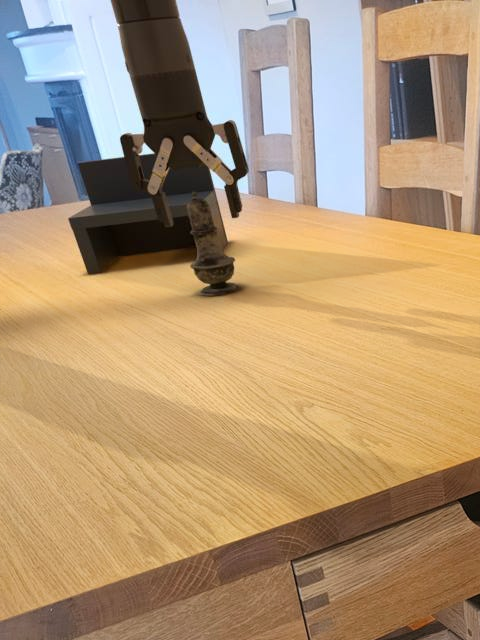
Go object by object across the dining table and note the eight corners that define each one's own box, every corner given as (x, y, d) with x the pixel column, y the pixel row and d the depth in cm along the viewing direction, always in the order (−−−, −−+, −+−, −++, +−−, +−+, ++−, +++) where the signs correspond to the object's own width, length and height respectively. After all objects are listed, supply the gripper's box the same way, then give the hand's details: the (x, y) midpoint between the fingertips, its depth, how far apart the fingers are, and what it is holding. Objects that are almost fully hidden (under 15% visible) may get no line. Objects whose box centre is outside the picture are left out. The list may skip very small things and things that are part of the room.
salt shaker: (230, 283, 115) (205, 185, 107) (249, 288, 111) (225, 187, 104) (190, 293, 112) (162, 193, 105) (209, 298, 108) (181, 195, 101)
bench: (87, 274, 129) (51, 172, 121) (110, 256, 140) (79, 162, 132) (215, 259, 130) (189, 156, 121) (228, 242, 141) (204, 147, 133)
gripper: (227, 61, 100) (260, 210, 110) (108, 75, 100) (153, 223, 109) (218, 62, 94) (254, 219, 104) (92, 77, 94) (140, 234, 103)
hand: (202, 221), depth 106 cm, fingers open, 8 cm apart
